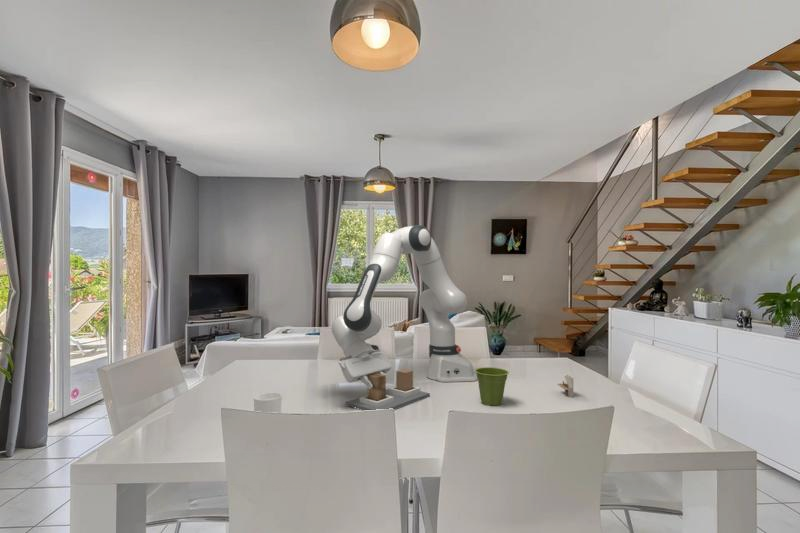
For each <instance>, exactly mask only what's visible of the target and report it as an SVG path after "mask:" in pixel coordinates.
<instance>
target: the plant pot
mask: <svg viewBox="0 0 800 533" xmlns="http://www.w3.org/2000/svg"><path fill="white" fill-rule="evenodd" d="M474 372H475V373H476V374H477V379H478V380H477V381H478V382H477V383H478V390H479V395H480V397H479V398H480V401H481V403H482V404H483V405H486V406H500V405H502V404H503V399H504V393H505V387H506V383H507V382H506V381H507V378H508V375H509V373H510V371H508V370H507V369H505V368H500V367H488V366H487V367H477V368H476V369H475V368H474Z"/></svg>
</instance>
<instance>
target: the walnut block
mask: <svg viewBox="0 0 800 533" xmlns="http://www.w3.org/2000/svg"><path fill="white" fill-rule="evenodd" d="M386 377H387V375H386V374H384V375H382V374H378V373H376V374H372V375H369V376H368V378H367V379H368V380H369V381H370V382H373V384H374V385H375V386H374V387H373V388H372V389H369V388H368V387H367V395H368V399H371V400H375V401H379V400H382V399H385V398H386V389H387V381H386V380H387V378H386Z"/></svg>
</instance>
